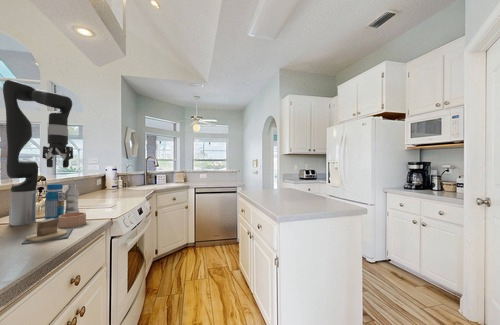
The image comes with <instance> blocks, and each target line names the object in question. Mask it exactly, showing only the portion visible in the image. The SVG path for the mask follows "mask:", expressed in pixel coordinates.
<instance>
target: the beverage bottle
mask: <svg viewBox="0 0 500 325" xmlns="http://www.w3.org/2000/svg"><path fill="white" fill-rule="evenodd" d="M63 184H64V183H47V184H46V190H47V192H46V194H45V195H44V196H45V197H44V198H45V199H44V220H47V219H51V218H53V219H57V220H59V215H63V214H65V192H63V188H64V185H63Z"/></svg>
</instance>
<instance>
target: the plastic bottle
mask: <svg viewBox="0 0 500 325" xmlns="http://www.w3.org/2000/svg"><path fill="white" fill-rule="evenodd" d="M67 186H68V187H67V189H66V190H65V192H64V199H65V210H64V214H67V213H76V212H80V210H79V198H80V197H79V196H80V190H78V189H77V183H68V185H67Z"/></svg>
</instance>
